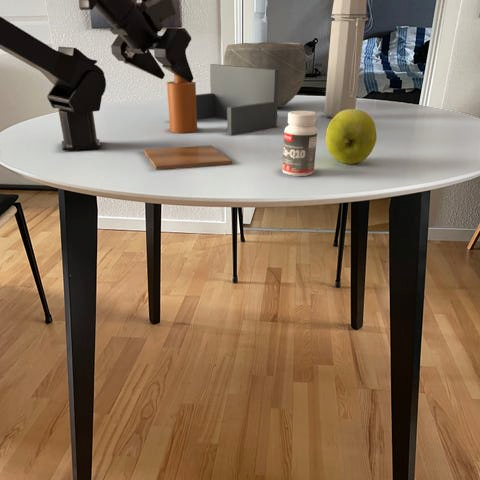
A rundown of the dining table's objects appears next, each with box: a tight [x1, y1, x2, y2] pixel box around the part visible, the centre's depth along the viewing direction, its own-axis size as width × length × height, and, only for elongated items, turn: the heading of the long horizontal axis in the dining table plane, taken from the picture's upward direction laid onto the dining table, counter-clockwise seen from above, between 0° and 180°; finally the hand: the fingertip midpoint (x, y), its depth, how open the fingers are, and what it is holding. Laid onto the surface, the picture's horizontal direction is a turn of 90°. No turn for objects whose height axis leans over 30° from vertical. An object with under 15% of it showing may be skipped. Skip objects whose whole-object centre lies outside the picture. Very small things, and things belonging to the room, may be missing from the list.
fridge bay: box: [196, 63, 279, 136], centre depth 106 cm, size 13×20×11 cm, turn 43°
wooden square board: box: [143, 144, 232, 171], centre depth 82 cm, size 12×12×1 cm
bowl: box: [223, 41, 307, 107], centre depth 127 cm, size 21×21×15 cm
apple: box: [325, 108, 378, 165], centre depth 78 cm, size 8×9×8 cm
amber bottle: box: [166, 73, 198, 134], centre depth 100 cm, size 6×6×12 cm
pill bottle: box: [282, 110, 318, 177], centre depth 72 cm, size 5×5×8 cm
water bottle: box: [323, 0, 369, 119], centre depth 111 cm, size 9×8×25 cm
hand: (177, 78), depth 97 cm, fingers open, 9 cm apart
